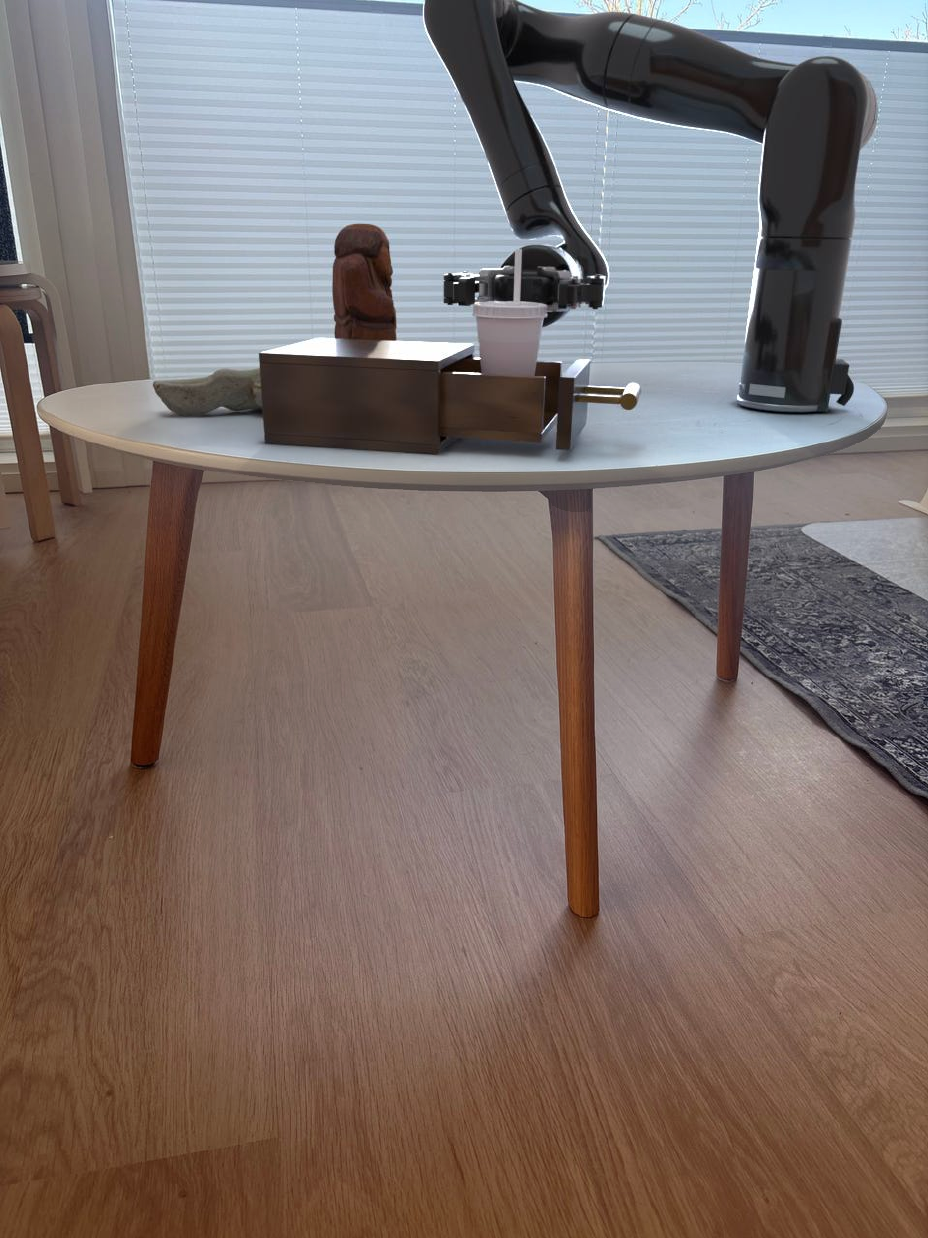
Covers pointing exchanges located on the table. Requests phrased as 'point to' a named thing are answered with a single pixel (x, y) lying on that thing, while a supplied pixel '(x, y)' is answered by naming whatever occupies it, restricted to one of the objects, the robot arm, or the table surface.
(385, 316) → the wooden figurine
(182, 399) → the sculpture
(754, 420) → the table surface
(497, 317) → the smoothie
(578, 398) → the drawer
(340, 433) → the cabinet
